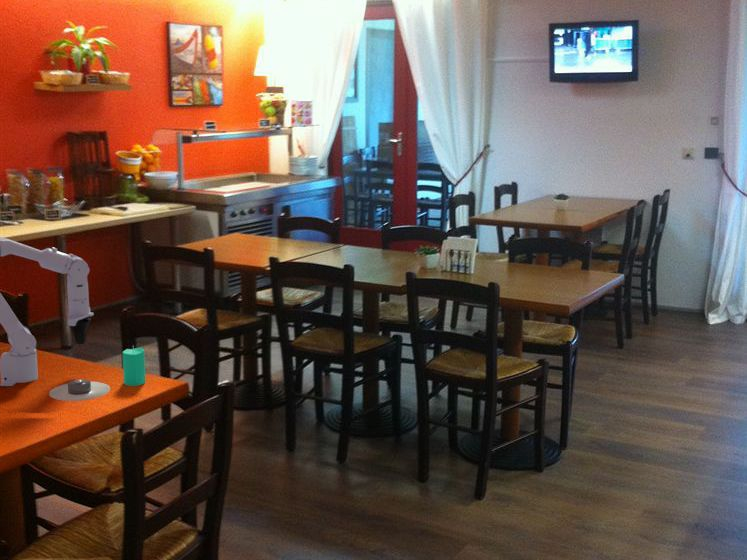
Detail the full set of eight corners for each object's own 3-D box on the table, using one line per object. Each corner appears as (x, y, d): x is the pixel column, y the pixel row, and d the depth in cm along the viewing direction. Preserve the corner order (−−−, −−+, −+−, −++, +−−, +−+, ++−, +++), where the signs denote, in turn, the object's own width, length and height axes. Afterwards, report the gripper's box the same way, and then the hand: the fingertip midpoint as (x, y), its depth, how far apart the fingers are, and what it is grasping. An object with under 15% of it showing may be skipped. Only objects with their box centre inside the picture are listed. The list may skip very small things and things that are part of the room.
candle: (148, 383, 258) (147, 343, 255) (141, 390, 252) (139, 349, 249) (128, 382, 258) (126, 342, 256) (120, 389, 253) (118, 348, 250)
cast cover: (65, 394, 244) (64, 384, 243) (72, 387, 250) (71, 377, 249) (87, 395, 244) (86, 384, 243) (93, 387, 250) (93, 377, 249)
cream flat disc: (40, 404, 239) (40, 400, 239) (61, 385, 255) (60, 381, 255) (100, 405, 240) (100, 401, 239) (117, 385, 255) (117, 381, 255)
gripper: (84, 304, 253) (86, 350, 256) (99, 292, 267) (101, 336, 270) (59, 304, 253) (62, 350, 256) (75, 292, 267) (78, 336, 270)
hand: (80, 343), depth 263 cm, fingers closed
